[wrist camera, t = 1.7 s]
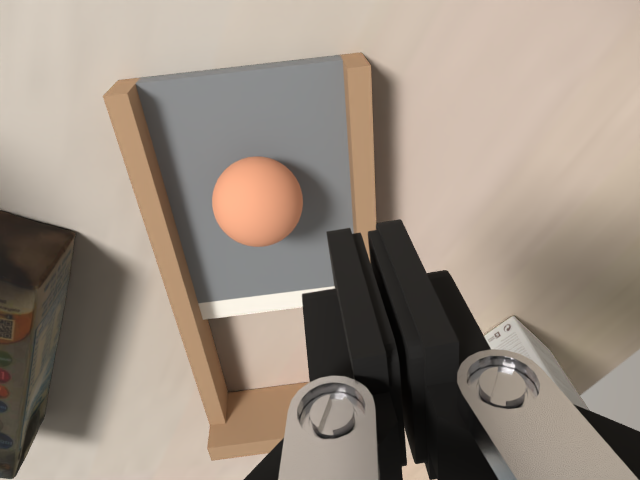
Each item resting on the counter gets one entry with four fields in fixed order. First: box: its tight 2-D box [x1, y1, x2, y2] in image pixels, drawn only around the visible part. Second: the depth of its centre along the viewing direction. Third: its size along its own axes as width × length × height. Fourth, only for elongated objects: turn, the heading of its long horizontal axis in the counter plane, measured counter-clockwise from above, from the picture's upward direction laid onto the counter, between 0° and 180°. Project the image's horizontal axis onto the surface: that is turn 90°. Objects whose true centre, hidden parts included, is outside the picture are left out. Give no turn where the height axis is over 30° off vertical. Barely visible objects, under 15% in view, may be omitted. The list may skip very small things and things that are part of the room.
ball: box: [212, 156, 303, 247], centre depth 28 cm, size 5×5×5 cm
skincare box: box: [484, 316, 590, 411], centre depth 36 cm, size 6×4×12 cm
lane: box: [103, 53, 376, 461], centre depth 33 cm, size 27×13×5 cm, turn 5°
